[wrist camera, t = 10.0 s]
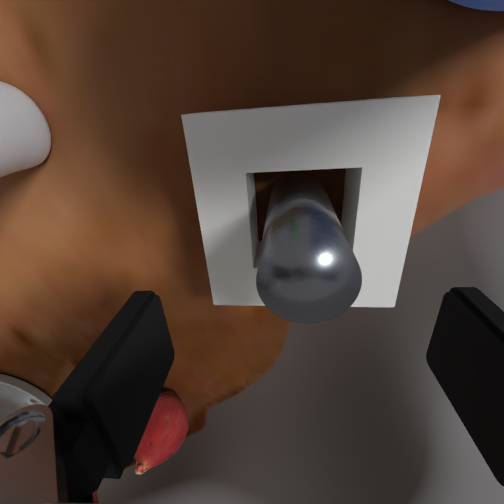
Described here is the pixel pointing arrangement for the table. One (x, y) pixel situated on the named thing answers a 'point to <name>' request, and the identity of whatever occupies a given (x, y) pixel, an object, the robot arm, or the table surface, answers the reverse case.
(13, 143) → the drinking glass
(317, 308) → the metal peg
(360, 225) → the socket block
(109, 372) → the robot arm
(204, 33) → the table surface
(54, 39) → the table surface
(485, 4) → the water jug
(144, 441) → the onion
